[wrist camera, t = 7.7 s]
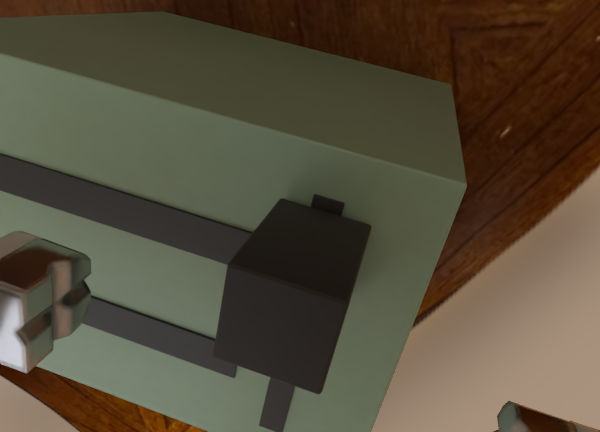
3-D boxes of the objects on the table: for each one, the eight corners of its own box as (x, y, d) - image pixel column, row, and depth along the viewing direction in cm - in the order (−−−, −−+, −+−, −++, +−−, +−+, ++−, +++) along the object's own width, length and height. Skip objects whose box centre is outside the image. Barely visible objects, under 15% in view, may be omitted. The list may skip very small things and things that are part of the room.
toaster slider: (372, 224, 12) (349, 303, 9) (348, 302, 13) (320, 397, 10) (280, 196, 12) (226, 262, 9) (264, 274, 13) (211, 358, 10)
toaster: (451, 84, 24) (468, 185, 11) (390, 266, 29) (349, 489, 16) (162, 11, 27) (-116, 21, 13) (149, 191, 32) (-63, 331, 18)
